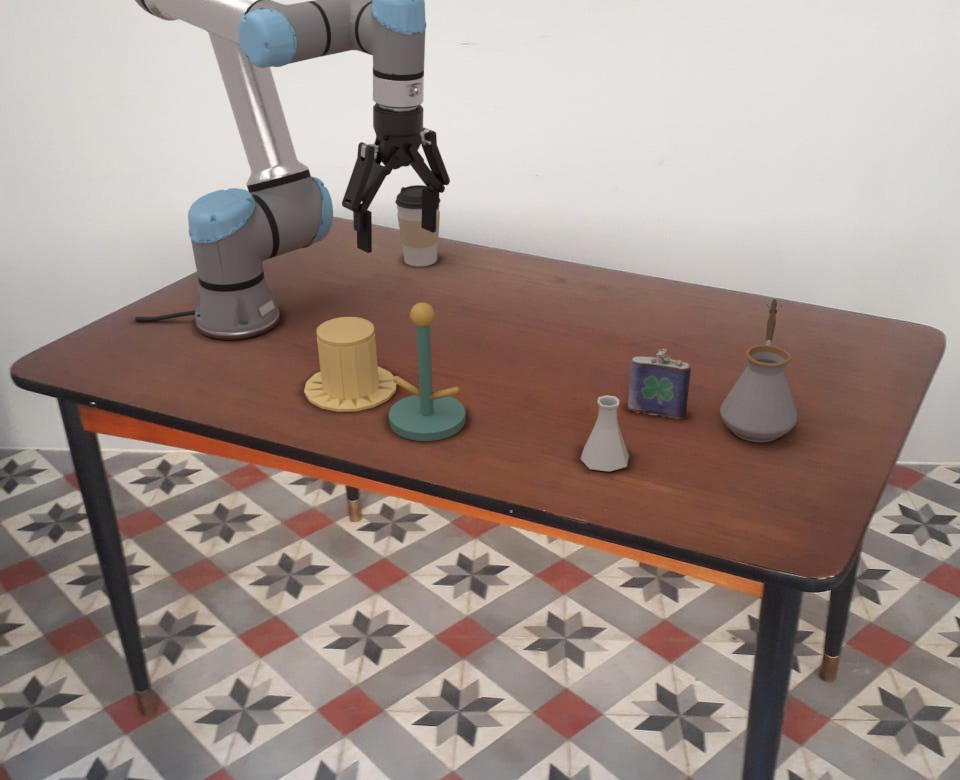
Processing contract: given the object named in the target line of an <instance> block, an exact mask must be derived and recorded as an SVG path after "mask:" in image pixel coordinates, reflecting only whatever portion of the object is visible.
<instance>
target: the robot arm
mask: <svg viewBox="0 0 960 780" xmlns="http://www.w3.org/2000/svg"><path fill="white" fill-rule="evenodd" d="M134 2H135V3H137V5H138V6H139V7H140V8H142V10H144V11H145V12H146V13H149V14H150V15H151V16H153V17H157V18H158V19H161V20H164V21H173V22H174V21H178V20H180V21H183V22H185V23H187V24H189V25H192V26H194V27H196V28H198V29H201V30H204V31H206V32H207V33H208V36H209V40H210V43H211V46H212V50H213V53H214V56H215V59H216V63H217V65H218V69H219V72H220V75H221V78H222V82H223V85H224V88H225V92H226V94H227V98H228V102H229V105H230V107H231V108H230V109H231V112H232V114H233V117H234V120H235V124H236V127H237V130H238V133H239V136H240V137H239V138H240V140H241V143H242V146H243V149H244V153H245V156H246V159H247V163H248V166H249V169H250V175H249V177H248V179H247V181H246V187H247V190H246V189H245V188H244V189H243V188H238V187H237V188H236V187H235V188H233V187H232V188H231V187H230V188H227V189H218V190H214V191H211V192H209V193H207V194H204V195H202V196H200V197H198V198H197V199H196V200H195V201H194V202H193V203H192V204H191V205H190V207H189V209H188V211H187V221H188V222H187V223H188V235H189V238H190V242H191V247H192V248H191V249H192V252H193V258H194V264H195V269H196V273H197V280H198V286H199V287H198V295H197V300H196V306H195V310H187V311H180V312H174V313H168V314H163V315H157V316H135V317H134V320H135V321H136V322H158V321H165V320H169V319H175V318H182V317H188V316H194V321H195V326H196V329H197V331H198V332H199V333H200V334H201V335H203V336H205V337H208V338H211V339H215V340H221V341H234V340H235V341H236V340H245V339H249V338H254V337H257V336H261V335H263V334H266V333H267V332H269V331H271V330H272V329H274V328H276V326H277V325H278V324H279V323H280V319H281V313H280V309H279V305H278V303H277V301H276V300H275V298H274V296H273V294H272V291H271V289H270V287H269V285H268V283H267V281H266V277H265V271H264V265H263V262H265V261H267V260H270V259H273V258H276V257H279V256H281V255H285V254H288V253H291V252H293V251H297V250H300V249H305V248H309V247H311V246H312V245H314V244H317V243H319V242H322V241H323V240H325V239H326V237H328V235H329V233H330V231H331V227H332V226H333V221H334V206H333V200H332V197H331V194H330V191H329V189H328V188H327V187H326V186H325V183H324V182H323V180H321V179H320V178H318V177H316V176H313V175H311V172H310V168H309V166H307V165H305V164H303V163H302V162H301V161H299V160H298V157H297V154H296V150H295V146H294V144H293V140H292V137H291V133H290V129H289V127H288V123H287V119H286V116H285V113H284V110H283V106H282V102H281V99H280V96H279V92H278V89H277V85H276V82H275V78H274V76H273V75H274V74H273V72H272V69H271V68H273V67H274V68H280V67H283V66H286V65H290V64H294V63H298V62H299V63H300V62H303V61H308V60H313V59H317V58H321V57H326V56H327V57H328V56H331V55H336V54H340V53H345V52H350V51H358V52H361V53H364V54H367V55H371V56H372V101H373V102H374V105H373V106H372V128H373V130H374V133H375V140H374V143H368V144H367V143H366V142H363V141H361V142H359V143H358V144H357V145H358V146H357V155H356V156H357V157H356V161H355V162H354V166H353V168H352V172H351V175H350V178H349V181H348V184H347V186H346V190H345V192H344V194H343V199H342V201H341V206H342V207H343V208H345V209H347V210H349V211H352V214H353V216H352V217H353V219H352V220H353V229H354V231H355V232H356V249H359V250H361V251H363V252H364V253H367V254H370V253H372V252H373V234H372V233H373V228H372V227H373V223H372V221H373V220H372V213H373V212H372V211H371V210H369V208H370V206H371V204H372V202H373V201H374V199H375V197H376V195H377V193H378V192H379V190H380V188H381V186H382V184H383V182H384V181H385V179H386V178H387V176H389V175H390V174H392V172H393V170H395V171H396V170H399V169H400V168H402V167H405V168H406V167H410V166H411V168H412V169H413V170H414V172H415V173H416V174H417V176H418V177H419V178H420V180H421V181H422V182H423V185H424V186H427V187H428V189H426V188H425V189H422V224H421V228H423V229H425V230H428V231H430V232H432V233H433V232H436V211H437V209H438V208H439V209H440V203H439V198H440V194H443V193H444V192H445V190H446V187H445V186H448V185H450V183H451V178H450V176H449V174H448V170H447V168H446V164H445V163H444V160H443V157H442V154H441V151H440V149H439V146H438V142H437V141H438V140H437V139H438V138H437V132H436V131H434V130H432V129H429V128H426V127H424V107H423V106H422V104H423V103H424V95H425V94H424V93H425V59H426V58H425V55H426V52H425V51H426V30H427V21H426V2H425V0H309V1H303V2H296V3H291V4H283V3H281V2H277V1H274V0H134ZM420 147H421V149H422V151H423V153H424V156H425V158H426V161H427V163H426V162H425V159H424V157H423V156H422V154H421V153H420V152H419V149H420ZM382 164H383V165H382ZM427 164H428V165H427Z"/></svg>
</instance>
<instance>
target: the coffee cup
mask: <svg viewBox="0 0 960 780" xmlns="http://www.w3.org/2000/svg"><path fill="white" fill-rule="evenodd" d="M425 188H426V189H428V187H427V186H426V185H425V184H416V185H414V184H413V185H409V186H406V187H404V186H402V187H401V188H400V192H399V193H398V194H397V195H396V198H395V205H396V209H397V213H396V214H397V223H398V229H399V234H400V242H401V244H402V245H401V247H402V252H403V259H404V263H405V264H406V265H408V266H411V267H428V266H431V265H435V264H436V262H437V261H438V246H439V245H438V244H439V237H440V236H439V235H440V217H441V211H440V207H439V208H438V209H437V211H436V232H433V233H432V232H430V231H428V230H425V229H423V228H421V224H422V189H425ZM441 201H442V200H441V198H440V197H439V204H440V203H441Z"/></svg>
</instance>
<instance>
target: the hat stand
mask: <svg viewBox="0 0 960 780" xmlns="http://www.w3.org/2000/svg"><path fill="white" fill-rule="evenodd" d="M435 314H436V313H435V310H434V308H433V306H432V305H431V304H429V303H427V302H422V301H421V302H418V303H415V305H413V306H412V307H411V309H410V313H409V317H410V320H411V322H412V323H413V324H414V326H415V328H416V329H415V331H416V348H417V350H416V351H417V368H418V370H417V371H418V387H419V388H418V387H416V386H415V385H413V384H411V383H410V382H408V381H406V380H405V379H403V378H402V377H400V376H398V375H393V376H394V377H393V382H394V383H396V384H397V385H398V386H400V387H401V388H403V389H404V390H406V391H407V392H409V393H410V394H412V395H409V396H406V397H404V398H401V399H399V400H398V401H396V402H394V403H393V404H392V406H391V407H390V408H389V411H388V425H389V427H390V429H391V430H392V432H393V433H394V434H396V435H398V436H400V437H401V438H404V439H407V440H410V441H417V442H433V441H439V440H444V439H447V438H449V437H452V436H455V435H456V434H458V433H459V432H460V431H462V430H463V428H464V427H465V425H466V420H467V417H466V416H467V415H466V414H467V413H466V408H465V406H464V405H463V403H462V402H461V401H460V400H458V399H457V398H455V397H452V396H454V395H458V394H459V393H460V388H459V387H458V386H453V387H449V388H446V389H442V390H437V391H434V392H433V369H432V368H433V367H432V349H431V348H432V347H431V346H432V345H431V325H432V324H433V322H434V321H435V317H436V316H435Z"/></svg>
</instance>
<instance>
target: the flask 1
mask: <svg viewBox="0 0 960 780" xmlns="http://www.w3.org/2000/svg"><path fill="white" fill-rule="evenodd" d="M620 401H621V400H620V399H619V398H618V397H617V396H615V395H607V394H606V395H602V396H598V398H597V401H596V403H597V406H598V415H597V418H596V421H595V424H594V426H593V428H592V430H591V433H590V435H589V436H588V438H587V440H586V443H585V445H584V447H583V449H582V453H581V456H580V461H582V463H583V464H584V465H585V466H586V467H587V468H588V469H589V470H594V471H603V472H612V471H617V470H620V469H621V470H622V469H625V468H627V467H628V463H629V460H630V459H629V457H630V454H629V451H628V450H627V446H626V442H625V441H624V437H623V435H622V431H621V428H620V425H619V420H618V419H619V418H618V409H619V405H620Z"/></svg>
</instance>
